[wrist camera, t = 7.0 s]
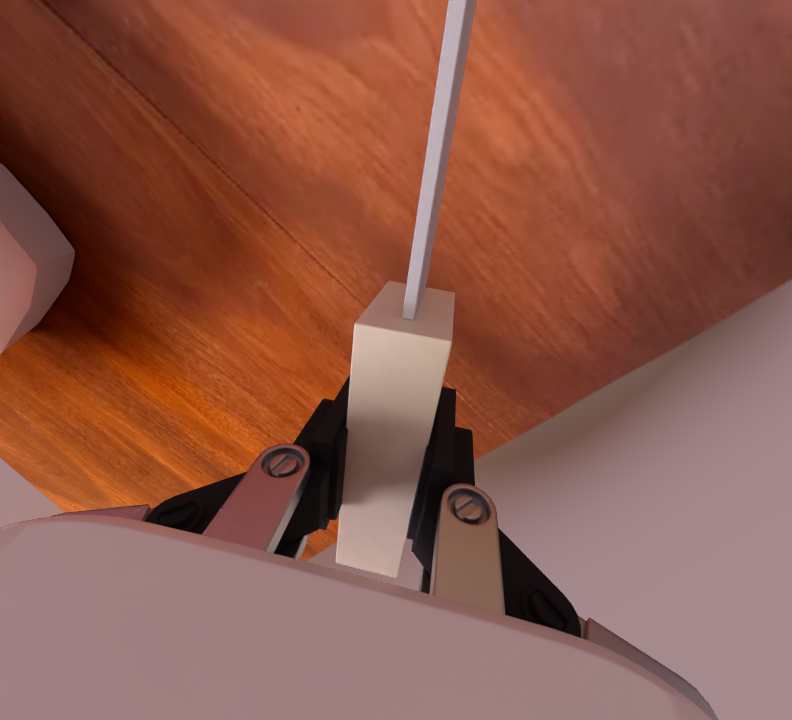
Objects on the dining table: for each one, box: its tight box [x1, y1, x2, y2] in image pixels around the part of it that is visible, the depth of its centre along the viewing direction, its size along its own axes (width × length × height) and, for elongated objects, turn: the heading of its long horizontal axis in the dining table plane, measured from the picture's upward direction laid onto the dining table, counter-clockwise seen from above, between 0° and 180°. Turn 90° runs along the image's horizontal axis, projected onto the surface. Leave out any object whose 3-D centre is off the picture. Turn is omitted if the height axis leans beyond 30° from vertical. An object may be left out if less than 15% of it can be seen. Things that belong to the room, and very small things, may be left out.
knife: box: [336, 0, 476, 578], centre depth 9 cm, size 19×2×4 cm, turn 172°
